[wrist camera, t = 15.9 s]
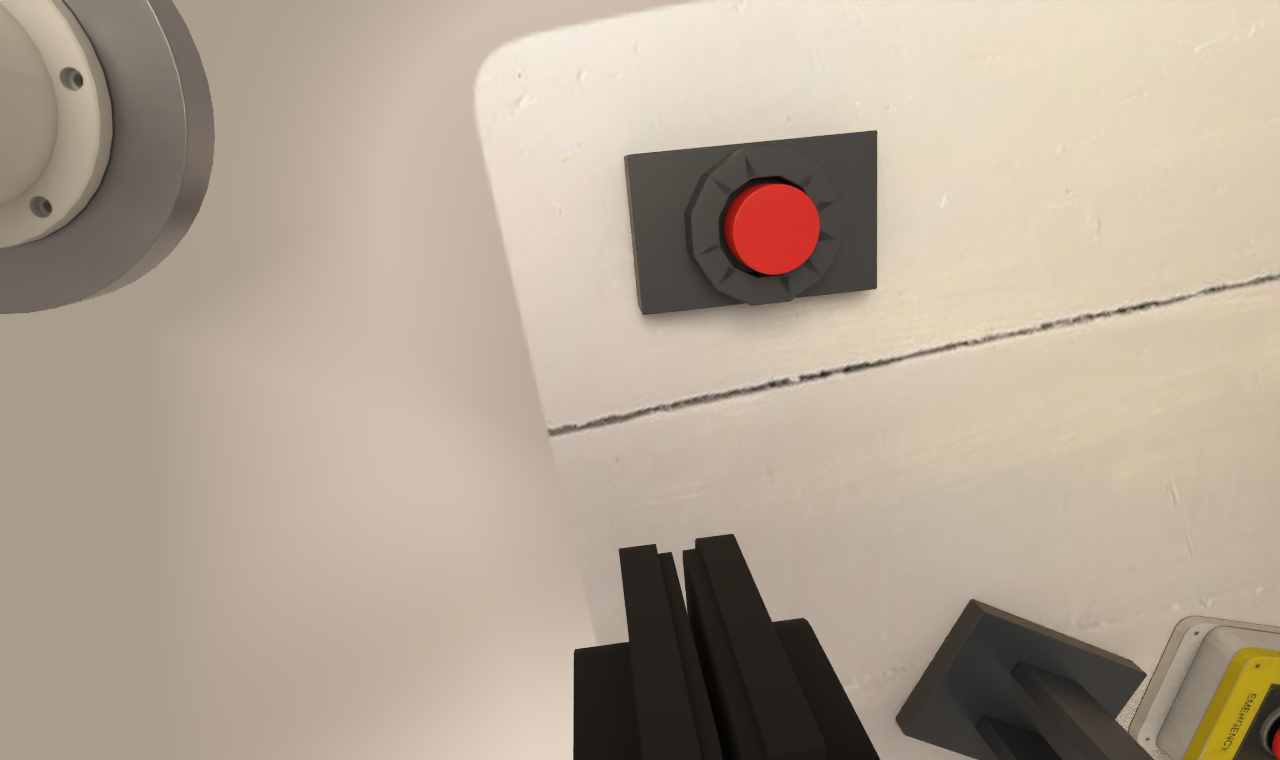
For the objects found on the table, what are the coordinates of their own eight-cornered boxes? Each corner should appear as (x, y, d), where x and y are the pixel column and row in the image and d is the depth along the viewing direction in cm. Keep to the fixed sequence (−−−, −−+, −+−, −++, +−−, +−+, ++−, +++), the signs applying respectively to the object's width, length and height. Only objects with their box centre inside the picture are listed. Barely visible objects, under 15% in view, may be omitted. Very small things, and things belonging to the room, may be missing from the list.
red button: (726, 273, 31) (735, 279, 29) (721, 187, 30) (730, 188, 28) (807, 264, 31) (821, 270, 29) (805, 179, 30) (819, 179, 28)
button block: (638, 306, 34) (646, 323, 30) (624, 156, 32) (630, 153, 28) (859, 282, 35) (893, 295, 31) (858, 132, 33) (895, 127, 29)
